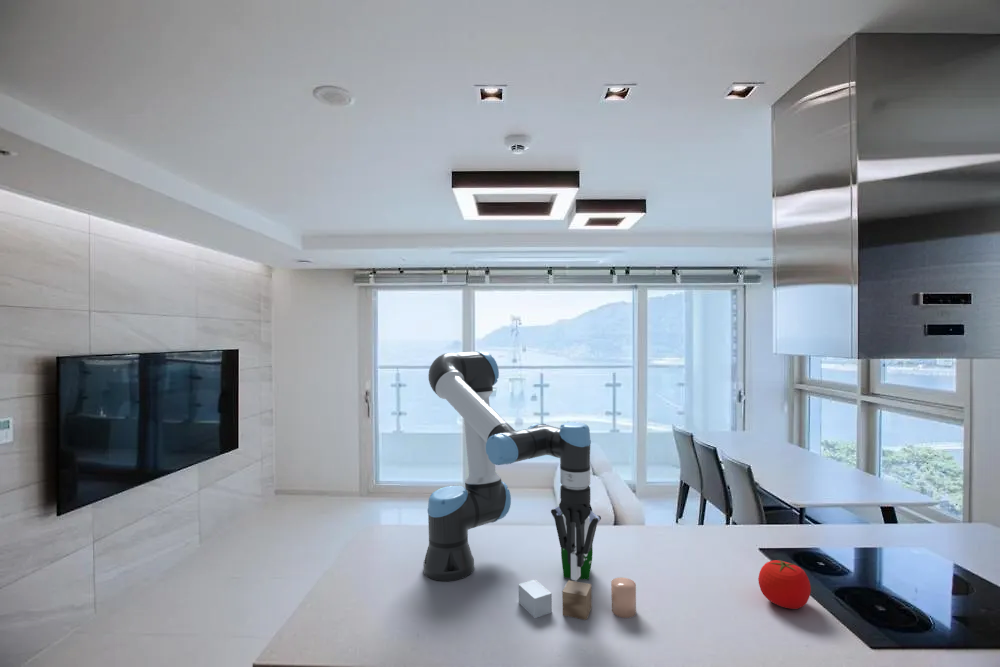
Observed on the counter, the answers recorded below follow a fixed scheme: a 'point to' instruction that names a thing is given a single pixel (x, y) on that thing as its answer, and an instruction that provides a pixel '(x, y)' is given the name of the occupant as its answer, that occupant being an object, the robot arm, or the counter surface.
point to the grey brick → (535, 598)
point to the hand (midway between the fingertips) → (575, 577)
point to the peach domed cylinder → (623, 597)
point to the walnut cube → (577, 599)
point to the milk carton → (587, 557)
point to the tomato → (784, 584)
